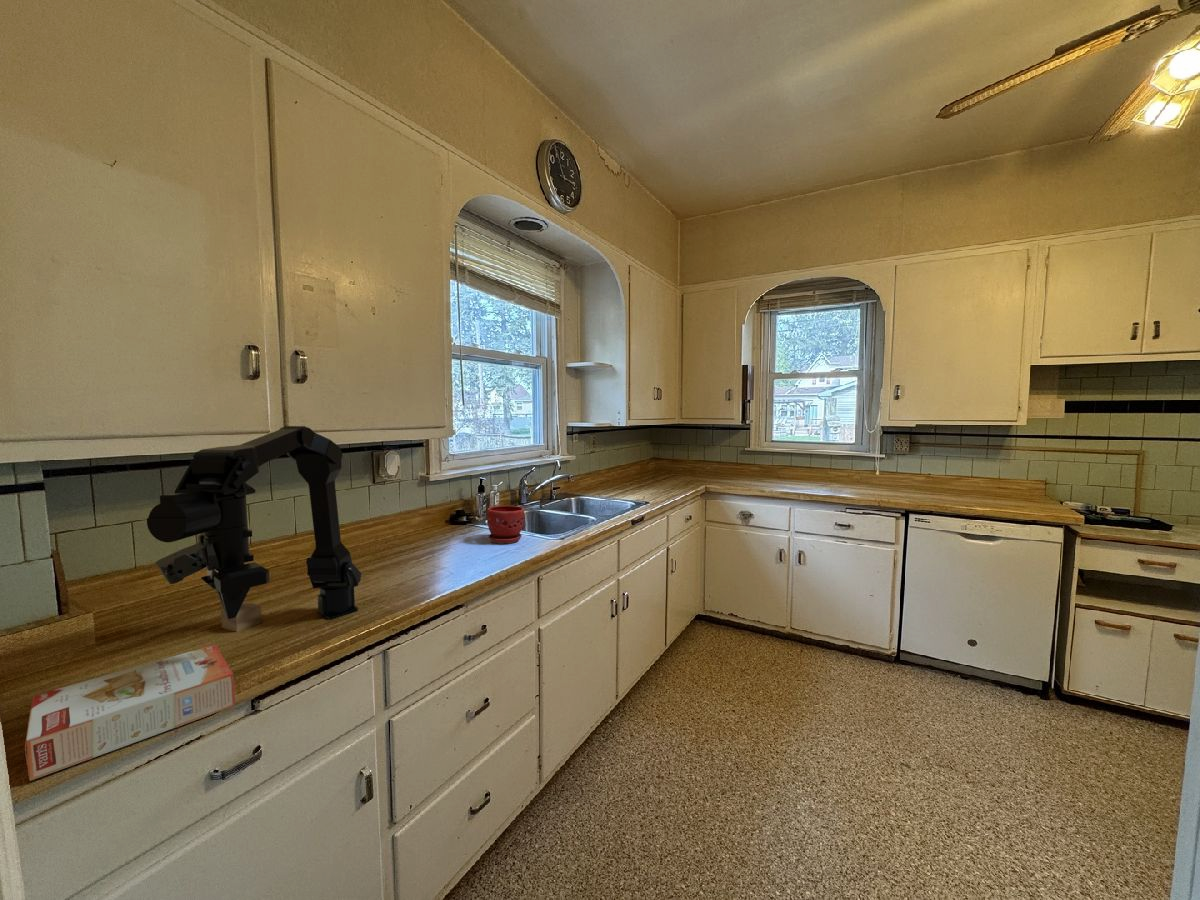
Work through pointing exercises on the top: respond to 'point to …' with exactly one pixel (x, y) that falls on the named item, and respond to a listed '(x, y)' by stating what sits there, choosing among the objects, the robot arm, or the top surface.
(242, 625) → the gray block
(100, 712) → the cracker box
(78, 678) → the top surface
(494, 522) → the plant pot
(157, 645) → the top surface
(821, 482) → the top surface
